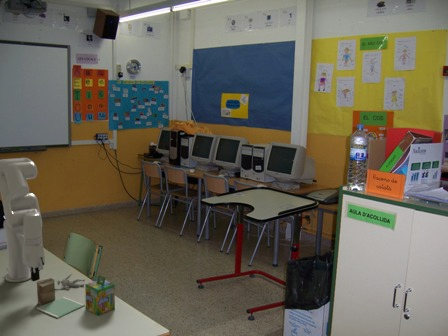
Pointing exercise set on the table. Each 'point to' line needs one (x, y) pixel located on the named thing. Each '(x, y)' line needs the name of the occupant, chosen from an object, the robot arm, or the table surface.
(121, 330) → the table surface
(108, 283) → the chalk box
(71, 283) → the soldier figure
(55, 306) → the mat
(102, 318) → the table surface
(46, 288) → the walnut block
